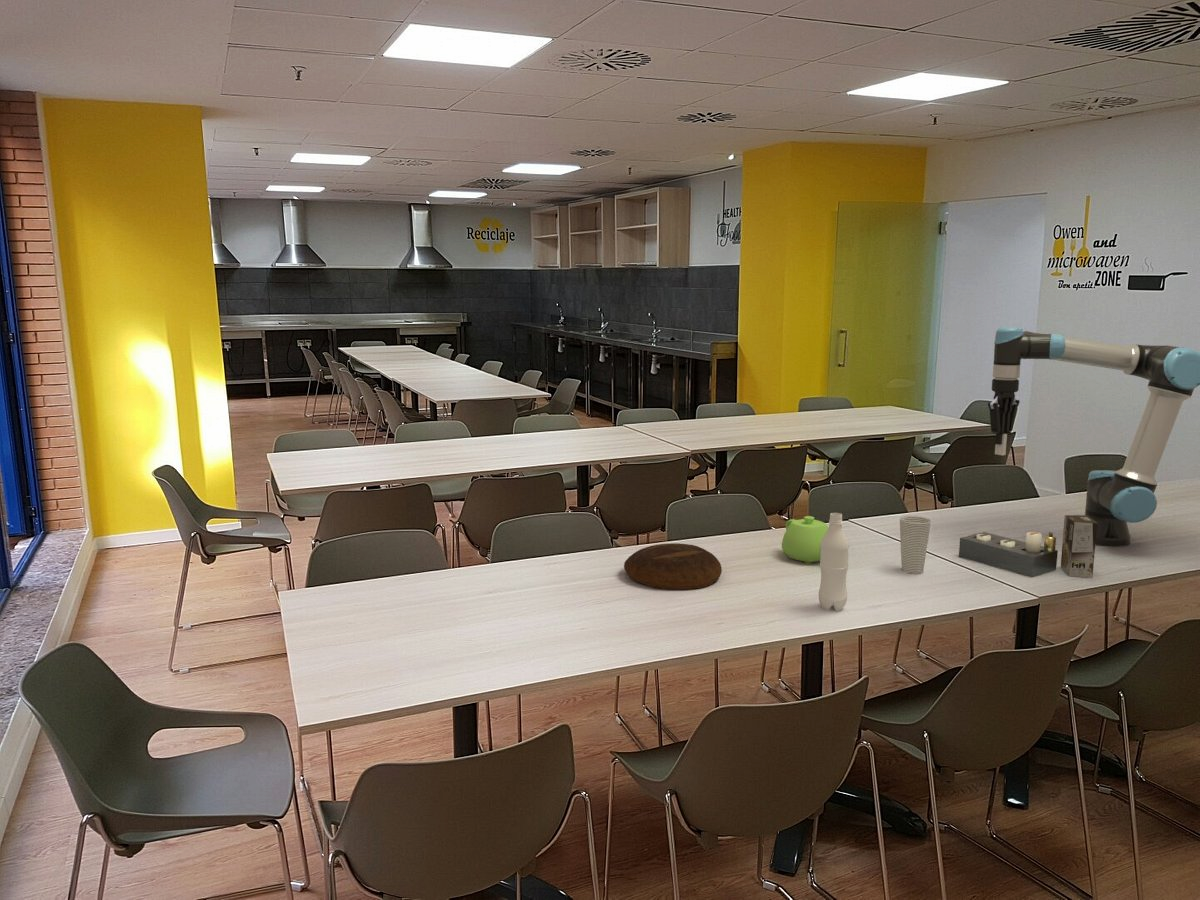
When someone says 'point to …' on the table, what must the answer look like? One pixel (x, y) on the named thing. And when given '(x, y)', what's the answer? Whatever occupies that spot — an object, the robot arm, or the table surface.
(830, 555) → the water bottle
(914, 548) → the cup
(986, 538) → the knob
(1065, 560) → the coffee box
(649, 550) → the bread
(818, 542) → the teapot
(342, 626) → the table surface
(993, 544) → the mount
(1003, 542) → the knob
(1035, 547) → the knob
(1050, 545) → the pepper mill
